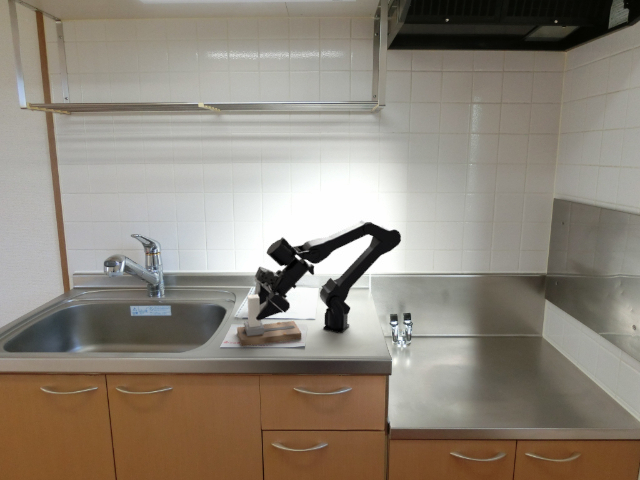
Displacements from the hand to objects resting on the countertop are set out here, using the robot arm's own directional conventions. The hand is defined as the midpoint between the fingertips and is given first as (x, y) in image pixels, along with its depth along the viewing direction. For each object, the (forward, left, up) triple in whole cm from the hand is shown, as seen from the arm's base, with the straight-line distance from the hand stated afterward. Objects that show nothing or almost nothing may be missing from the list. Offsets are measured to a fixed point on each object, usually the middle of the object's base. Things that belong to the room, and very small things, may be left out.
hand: (254, 313), depth 132 cm
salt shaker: (+10, -19, -8) cm, 23 cm away
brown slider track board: (-3, -3, -8) cm, 9 cm away
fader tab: (0, 0, -6) cm, 6 cm away
